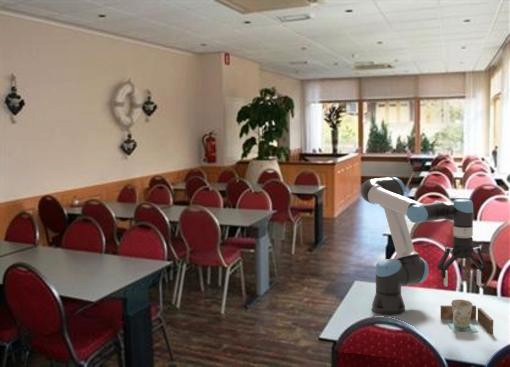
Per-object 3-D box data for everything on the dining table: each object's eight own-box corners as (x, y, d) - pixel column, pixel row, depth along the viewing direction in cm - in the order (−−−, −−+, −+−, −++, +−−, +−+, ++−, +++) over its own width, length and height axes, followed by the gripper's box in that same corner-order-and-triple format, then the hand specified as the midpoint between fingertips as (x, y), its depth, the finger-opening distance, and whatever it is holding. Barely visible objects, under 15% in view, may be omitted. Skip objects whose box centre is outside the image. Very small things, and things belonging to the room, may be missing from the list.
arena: (452, 334, 202) (452, 320, 202) (440, 318, 219) (440, 305, 219) (493, 334, 201) (493, 320, 200) (477, 318, 218) (478, 305, 217)
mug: (475, 324, 210) (475, 302, 209) (464, 333, 201) (464, 310, 200) (455, 320, 216) (455, 298, 215) (444, 328, 207) (444, 306, 206)
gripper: (434, 238, 202) (434, 288, 204) (497, 237, 200) (496, 288, 202) (429, 234, 209) (429, 282, 212) (490, 234, 207) (489, 282, 209)
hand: (462, 285), depth 207 cm, fingers open, 13 cm apart
